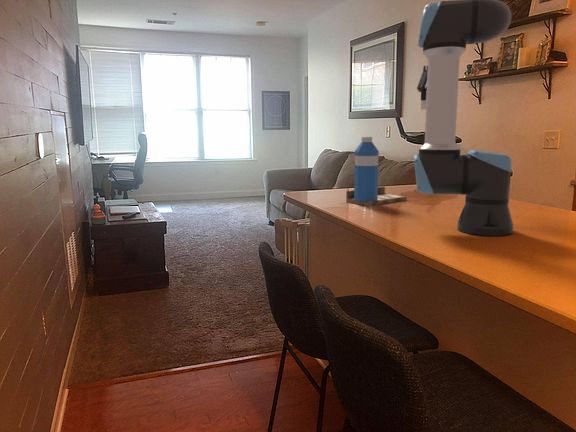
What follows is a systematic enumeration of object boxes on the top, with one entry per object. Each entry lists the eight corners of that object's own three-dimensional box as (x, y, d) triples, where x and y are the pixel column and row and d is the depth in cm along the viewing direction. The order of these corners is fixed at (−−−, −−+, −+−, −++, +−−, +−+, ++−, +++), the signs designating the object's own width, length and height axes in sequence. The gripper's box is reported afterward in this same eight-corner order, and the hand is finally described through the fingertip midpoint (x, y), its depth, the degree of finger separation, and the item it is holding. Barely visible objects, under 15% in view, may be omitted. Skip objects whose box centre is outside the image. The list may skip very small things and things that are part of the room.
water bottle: (376, 197, 188) (378, 136, 183) (378, 201, 179) (379, 137, 174) (353, 197, 189) (354, 136, 184) (354, 201, 180) (355, 137, 175)
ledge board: (368, 206, 178) (369, 192, 177) (346, 201, 189) (346, 189, 188) (406, 200, 190) (406, 187, 189) (382, 196, 201) (383, 184, 200)
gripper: (425, 48, 164) (422, 108, 168) (466, 53, 178) (463, 109, 182) (408, 51, 170) (406, 109, 174) (449, 56, 184) (447, 110, 188)
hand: (435, 109), depth 178 cm, fingers open, 13 cm apart
